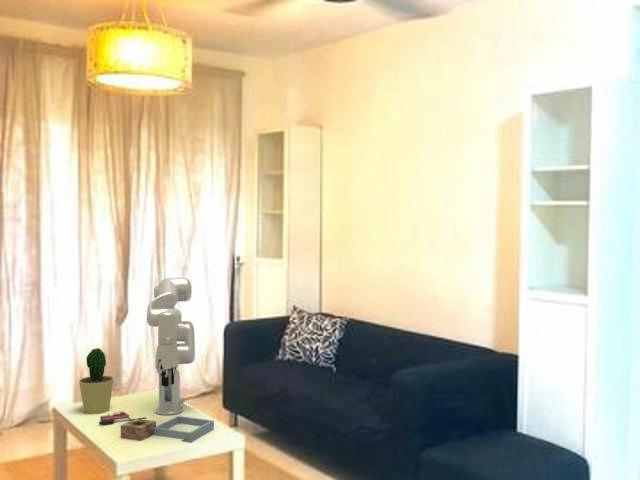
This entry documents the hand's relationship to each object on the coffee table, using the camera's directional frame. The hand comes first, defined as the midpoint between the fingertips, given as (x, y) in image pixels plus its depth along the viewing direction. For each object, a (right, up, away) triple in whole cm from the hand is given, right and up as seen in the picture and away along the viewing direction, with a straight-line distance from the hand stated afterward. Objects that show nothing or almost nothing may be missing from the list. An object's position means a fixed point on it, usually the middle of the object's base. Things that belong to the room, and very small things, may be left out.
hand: (167, 384), depth 274 cm
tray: (+6, -21, +3) cm, 22 cm away
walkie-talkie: (-25, -21, +19) cm, 38 cm away
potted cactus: (-42, -20, +36) cm, 59 cm away
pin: (0, -7, 0) cm, 7 cm away
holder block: (-11, -21, -3) cm, 24 cm away
